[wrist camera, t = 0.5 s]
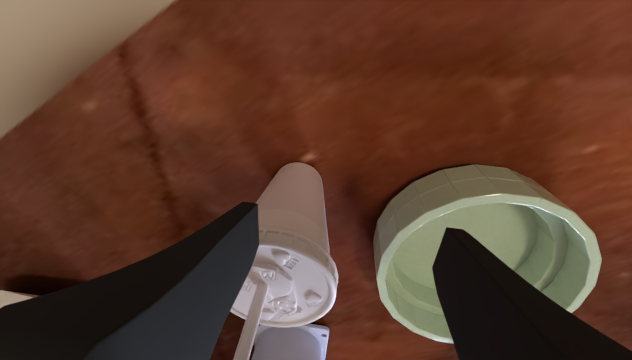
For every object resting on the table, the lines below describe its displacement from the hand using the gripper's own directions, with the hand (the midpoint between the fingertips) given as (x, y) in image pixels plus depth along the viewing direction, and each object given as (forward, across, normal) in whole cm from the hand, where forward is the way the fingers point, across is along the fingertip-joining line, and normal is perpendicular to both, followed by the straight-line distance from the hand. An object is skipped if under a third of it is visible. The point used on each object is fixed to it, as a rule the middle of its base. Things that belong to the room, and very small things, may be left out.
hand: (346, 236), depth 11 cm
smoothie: (+10, +4, +3) cm, 11 cm away
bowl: (+10, -9, +7) cm, 15 cm away
